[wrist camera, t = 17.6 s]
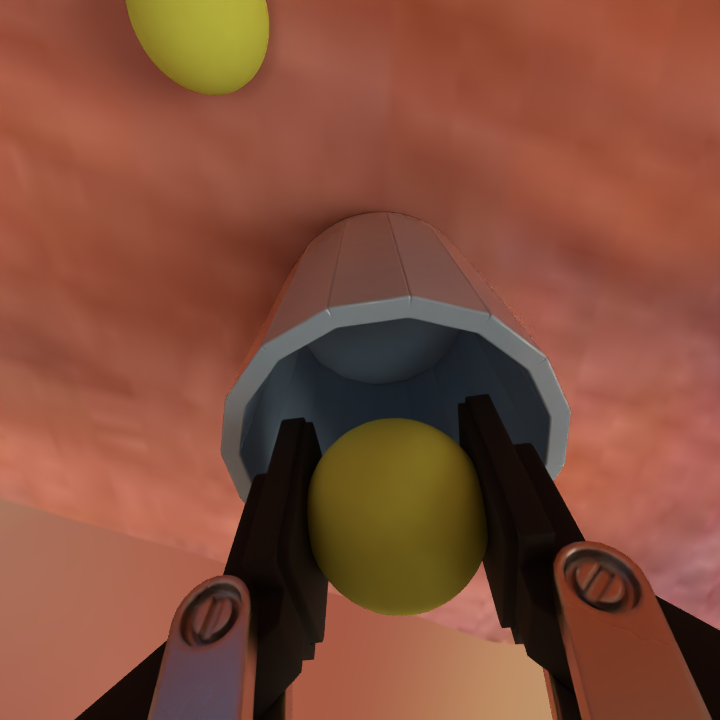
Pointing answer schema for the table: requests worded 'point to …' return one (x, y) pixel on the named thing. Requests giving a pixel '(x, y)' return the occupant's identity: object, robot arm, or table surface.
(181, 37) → the plum
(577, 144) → the table surface
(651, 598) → the robot arm
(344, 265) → the tumbler
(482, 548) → the plum
